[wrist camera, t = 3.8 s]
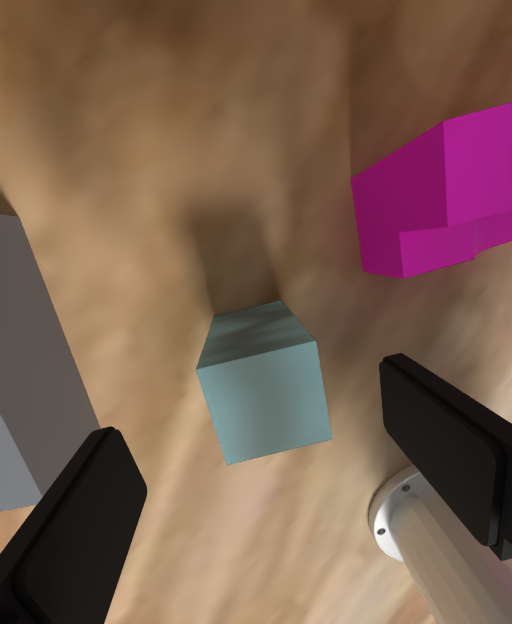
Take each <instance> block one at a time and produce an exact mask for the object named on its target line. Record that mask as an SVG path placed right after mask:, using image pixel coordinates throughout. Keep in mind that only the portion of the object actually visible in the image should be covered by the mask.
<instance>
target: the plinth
mask: <svg viewBox="0 0 512 624" xmlns="http://www.w3.org/2000/svg"><path fill="white" fill-rule="evenodd" d="M98 429H101V428H100V426H99V423H98V420H97V418H96V415H95V413H94V410H93V407H92V405H91V402H90V400H89V397H88V395H87V392H86V389H85V387H84V384H83V382H82V379H81V376H80V374H79V371H78V369H77V366H76V363H75V361H74V358H73V356H72V353H71V350H70V348H69V345H68V343H67V340H66V337H65V335H64V332H63V330H62V327H61V324H60V322H59V319H58V317H57V314H56V312H55V309H54V306H53V304H52V301H51V299H50V296H49V293H48V291H47V288H46V286H45V283H44V280H43V278H42V275H41V273H40V270H39V267H38V265H37V262H36V260H35V257H34V254H33V252H32V249H31V247H30V244H29V241H28V239H27V236H26V234H25V231H24V229H23V226H22V223H21V221H20V218H19V217H17V216H10V215H3V214H0V512H1V511H6V510H11V509H17V508H22V507H27V506H33V505H37V504H38V503H39V501H40V500H41V499H42V497H43V496H44V494H45V493H46V492H47V490H48V489H49V488H50V486H51V485H52V484H53V482H54V481H55V480H56V478H57V477H58V476H59V474H60V473H61V472H62V470H63V469H64V468H65V466H66V465H67V464H68V462H69V461H70V460H71V458H72V457H73V456H74V454H75V453H76V452H77V450H78V449H79V447H80V446H81V445H82V443H83V442H84V441H85V439H86V438H87V437H88V435H89V434H90V433H91V432H92V431H94V430H98Z"/></svg>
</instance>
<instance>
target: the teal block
mask: <svg viewBox="0 0 512 624" xmlns="http://www.w3.org/2000/svg"><path fill="white" fill-rule="evenodd" d="M196 372H197V375H198V378H199V381H200V384H201V387H202V390H203V393H204V396H205V399H206V403H207V406H208V409H209V412H210V415H211V418H212V421H213V424H214V427H215V430H216V433H217V436H218V439H219V443H220V446H221V449H222V452H223V455H224V458H225V461H226V464H227V465H230V464H234V463H238V462H242V461H246V460H250V459H254V458H258V457H262V456H266V455H270V454H274V453H278V452H282V451H286V450H290V449H294V448H299V447H303V446H307V445H311V444H315V443H319V442H323V441H327V440H331V439H332V433H331V427H330V421H329V415H328V409H327V403H326V397H325V391H324V385H323V379H322V373H321V367H320V361H319V355H318V349H317V343H316V340H315V339H314V338H313V337H312V335H311V334H310V333H309V332H308V331H307V330H306V329H305V327H304V326H303V325H302V324H301V323H300V322H299V320H298V319H297V318H296V317H295V316H294V315H293V314H292V312H291V311H290V310H289V309H288V308H287V307H286V305H285V304H284V303H283V302H282V301H281V300H280V301H276V302H272V303H268V304H263V305H259V306H255V307H251V308H247V309H242V310H238V311H234V312H230V313H225V314H221V315H217V316H214V318H213V321H212V324H211V327H210V330H209V333H208V336H207V338H206V341H205V344H204V347H203V350H202V353H201V356H200V359H199V362H198V365H197V368H196Z"/></svg>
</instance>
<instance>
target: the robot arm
mask: <svg viewBox="0 0 512 624" xmlns="http://www.w3.org/2000/svg"><path fill="white" fill-rule="evenodd" d="M379 370H380V383H381V396H382V409H383V422H384V426H385V429H386V431H387V432H388V434H389V435H390V436H391V437H392V439H393V440H394V441H395V442H396V443H397V445H398V446H399V447H400V448H401V450H402V451H403V452H404V453H405V454H406V456H407V457H408V458H409V459H410V460H411V462H412V463H413V465H411V466H408V467H407V468H405V469H403V470H402V471H400V472H398V473H397V474H396V475H394V476H393V477H392V478H390V479H389V480H388V481H387V482H386V483H385V484H384V485H383V486H382V487H381V489H380V490H379V491H378V493H377V494H376V496H375V497H374V499H373V502H372V504H371V506H370V510H369V516H368V520H369V527H370V530H371V533H372V535H373V537H374V539H375V541H376V543H377V545H378V547H379V548H380V549H381V550H382V551H383V552H384V553H386V554H387V555H389V556H390V557H392V558H394V559H397V560H400V561H404V563H405V565H406V566H407V568H408V570H409V572H410V574H411V576H412V578H413V580H414V581H415V583H416V585H417V587H418V589H419V591H420V593H421V595H422V596H423V598H424V600H425V602H426V604H427V606H428V608H429V609H430V611H431V613H432V615H433V617H434V619H435V621H436V623H437V624H512V424H511V423H510V422H508V421H507V420H505V419H504V418H502V417H500V416H499V415H497V414H496V413H494V412H493V411H491V410H490V409H488V408H486V407H485V406H483V405H482V404H480V403H479V402H477V401H476V400H474V399H472V398H471V397H469V396H468V395H466V394H465V393H463V392H462V391H460V390H459V389H457V388H455V387H454V386H452V385H451V384H449V383H448V382H446V381H445V380H443V379H441V378H440V377H438V376H437V375H435V374H434V373H432V372H431V371H429V370H427V369H426V368H424V367H423V366H421V365H420V364H418V363H417V362H415V361H413V360H412V359H410V358H409V357H407V356H406V355H404V354H402V353H398V354H394V355H390V356H386V357H384V358H383V362H381V363H380V364H379ZM146 497H147V486H146V483H145V481H144V479H143V477H142V475H141V473H140V471H139V469H138V467H137V465H136V463H135V461H134V459H133V457H132V455H131V452H130V450H129V448H128V446H127V444H126V442H125V440H124V438H123V436H122V434H121V432H120V431H119V430H117V429H116V430H115V428H114V427H106V428H102V429H98V430H94V431H92V432H91V433H90V434H89V435H88V437H87V438H86V439H85V441H84V442H83V443H82V445H81V446H80V447H79V449H78V450H77V452H76V453H75V454H74V456H73V457H72V458H71V460H70V461H69V462H68V464H67V465H66V466H65V468H64V469H63V470H62V472H61V473H60V474H59V476H58V477H57V478H56V480H55V481H54V482H53V484H52V485H51V486H50V488H49V489H48V490H47V492H46V493H45V494H44V496H43V497H42V499H41V500H40V501H39V503H38V504H37V505H36V507H35V508H34V509H33V511H32V512H31V513H30V515H29V516H28V517H27V519H26V520H25V521H24V523H23V524H22V525H21V527H20V528H19V529H18V531H17V532H16V533H15V535H14V536H13V537H12V539H11V540H10V542H9V543H8V544H7V546H6V547H5V548H4V550H3V551H2V552H1V554H0V624H104V622H105V619H106V616H107V613H108V611H109V608H110V605H111V602H112V599H113V596H114V593H115V590H116V587H117V584H118V581H119V578H120V575H121V572H122V569H123V566H124V563H125V560H126V557H127V554H128V551H129V548H130V545H131V542H132V539H133V536H134V533H135V530H136V527H137V524H138V521H139V518H140V515H141V512H142V509H143V506H144V503H145V500H146Z"/></svg>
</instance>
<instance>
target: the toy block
mask: <svg viewBox="0 0 512 624" xmlns="http://www.w3.org/2000/svg"><path fill="white" fill-rule="evenodd" d="M351 184H352V191H353V198H354V206H355V213H356V220H357V227H358V235H359V242H360V249H361V256H362V264H363V271H364V272H368V273H374V274H380V275H386V276H391V277H397V278H403V279H404V278H407V277H411V276H415V275H418V274H422V273H426V272H429V271H433V270H437V269H440V268H444V267H447V266H451V265H455V264H458V263H462V262H466V261H469V260H473V259H474V258H475V256H476V255H477V254H478V253H480V252H482V251H484V250H486V249H488V248H491V247H494V246H497V245H500V244H503V243H507V242H510V241H512V102H511V103H508V104H504V105H500V106H497V107H493V108H489V109H486V110H482V111H478V112H474V113H471V114H467V115H463V116H460V117H456V118H452V119H449V120H445V121H442V122H441V123H439V124H438V125H436V126H434V127H433V128H431V129H430V130H428V131H426V132H425V133H423V134H422V135H420V136H418V137H417V138H415V139H414V140H412V141H411V142H409V143H407V144H406V145H404V146H403V147H401V148H399V149H398V150H396V151H395V152H393V153H391V154H390V155H388V156H387V157H385V158H383V159H382V160H380V161H379V162H377V163H376V164H374V165H372V166H371V167H369V168H368V169H366V170H364V171H363V172H361V173H360V174H358V175H356V176H355V177H353V178H352V179H351Z"/></svg>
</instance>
